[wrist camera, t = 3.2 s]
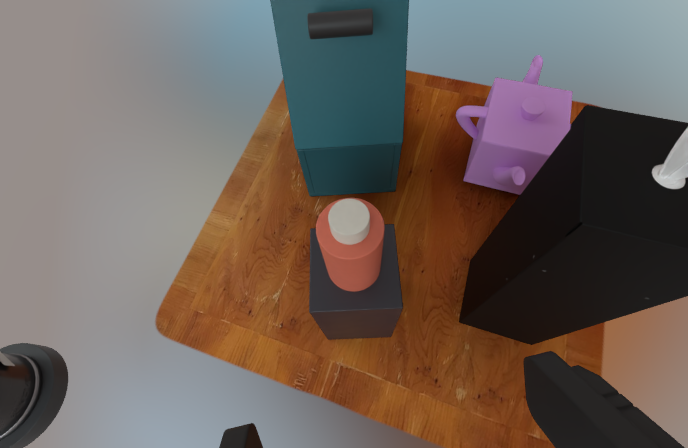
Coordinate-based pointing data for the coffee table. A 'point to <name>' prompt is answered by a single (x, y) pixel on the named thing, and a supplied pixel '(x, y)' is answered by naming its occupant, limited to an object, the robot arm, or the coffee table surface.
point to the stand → (356, 296)
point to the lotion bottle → (351, 242)
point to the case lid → (343, 70)
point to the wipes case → (350, 169)
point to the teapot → (515, 131)
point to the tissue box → (588, 232)
